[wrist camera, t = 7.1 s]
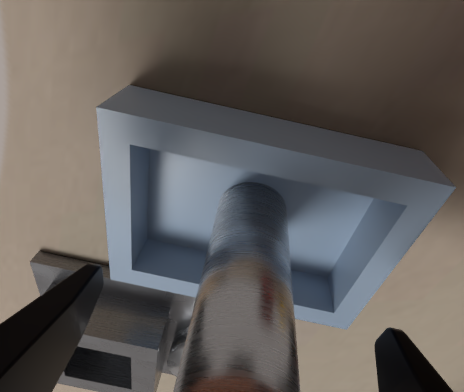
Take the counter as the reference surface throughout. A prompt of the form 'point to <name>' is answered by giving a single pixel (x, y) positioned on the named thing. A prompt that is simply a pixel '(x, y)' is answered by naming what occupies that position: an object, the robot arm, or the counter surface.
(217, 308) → the lock pin
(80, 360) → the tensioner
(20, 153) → the counter surface
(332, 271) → the tray
